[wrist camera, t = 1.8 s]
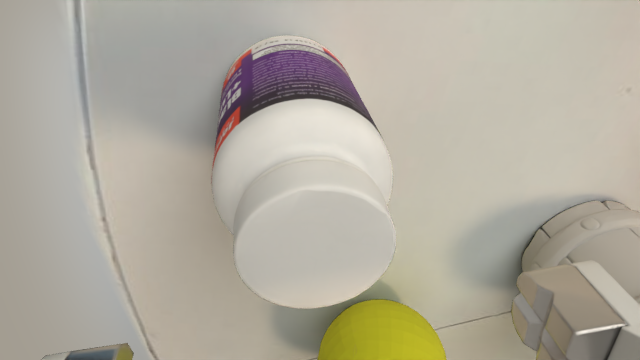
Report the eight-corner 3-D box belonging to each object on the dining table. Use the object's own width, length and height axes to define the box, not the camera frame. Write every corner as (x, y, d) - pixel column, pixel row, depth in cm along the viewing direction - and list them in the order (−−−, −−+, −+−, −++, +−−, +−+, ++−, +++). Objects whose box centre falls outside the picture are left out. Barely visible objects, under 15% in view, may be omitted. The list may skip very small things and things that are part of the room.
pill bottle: (211, 37, 17) (179, 172, 9) (349, 27, 17) (439, 145, 9) (232, 158, 20) (222, 341, 12) (349, 146, 20) (416, 314, 12)
